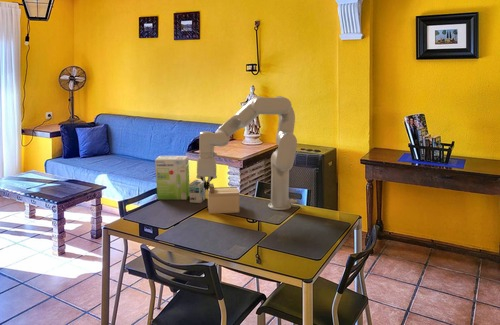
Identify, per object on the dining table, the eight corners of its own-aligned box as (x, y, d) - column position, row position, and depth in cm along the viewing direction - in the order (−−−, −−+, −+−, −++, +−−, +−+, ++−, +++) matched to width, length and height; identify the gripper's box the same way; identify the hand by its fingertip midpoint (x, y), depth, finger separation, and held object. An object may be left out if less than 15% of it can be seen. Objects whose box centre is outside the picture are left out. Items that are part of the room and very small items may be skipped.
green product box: (156, 199, 239) (154, 158, 234) (160, 194, 249) (159, 155, 244) (187, 200, 239) (185, 159, 233) (190, 194, 249) (189, 155, 243)
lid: (236, 189, 228) (236, 182, 227) (238, 194, 218) (238, 187, 217) (208, 190, 225) (208, 183, 224) (209, 195, 216) (208, 188, 215)
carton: (236, 205, 231) (236, 186, 228) (239, 212, 219) (239, 193, 217) (207, 206, 228) (207, 187, 226) (208, 213, 217) (208, 194, 215)
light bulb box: (200, 203, 234) (200, 184, 231) (189, 202, 235) (188, 184, 232) (206, 197, 244) (206, 179, 241) (195, 196, 245) (195, 179, 243)
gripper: (220, 153, 221) (220, 186, 225) (192, 153, 218) (192, 187, 222) (221, 156, 213) (221, 190, 217) (192, 156, 211) (192, 191, 215)
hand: (206, 188), depth 220 cm, fingers closed
